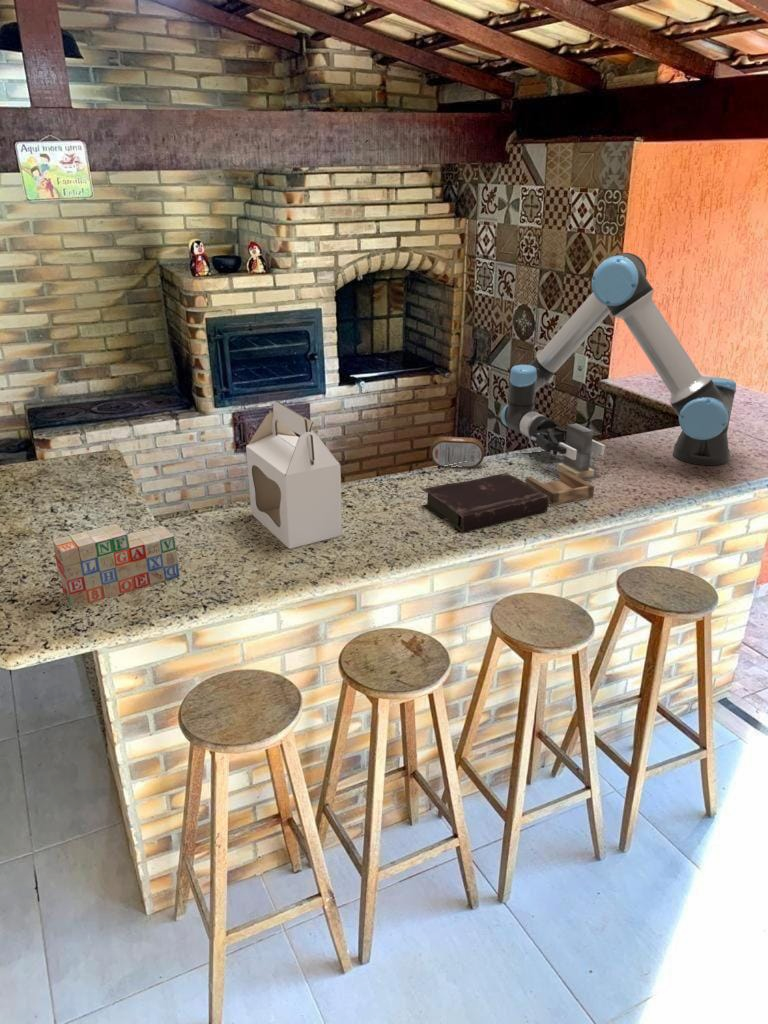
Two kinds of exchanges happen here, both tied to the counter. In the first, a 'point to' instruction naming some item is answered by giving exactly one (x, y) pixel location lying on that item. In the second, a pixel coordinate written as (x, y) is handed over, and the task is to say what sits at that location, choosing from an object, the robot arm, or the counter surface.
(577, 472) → the grey tall block
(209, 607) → the counter surface
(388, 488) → the counter surface
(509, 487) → the diary
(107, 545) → the stack of blocks
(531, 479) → the tray
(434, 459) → the tin
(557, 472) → the mat
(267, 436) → the gable box
